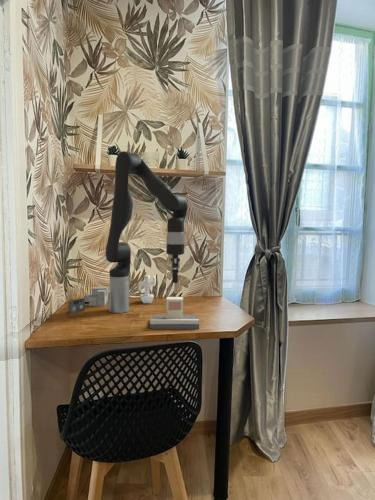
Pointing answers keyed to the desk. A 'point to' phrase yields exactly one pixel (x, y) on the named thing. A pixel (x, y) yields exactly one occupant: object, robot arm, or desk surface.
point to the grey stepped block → (97, 296)
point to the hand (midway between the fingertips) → (174, 280)
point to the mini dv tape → (76, 306)
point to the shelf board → (174, 322)
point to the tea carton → (174, 308)
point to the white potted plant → (147, 289)
